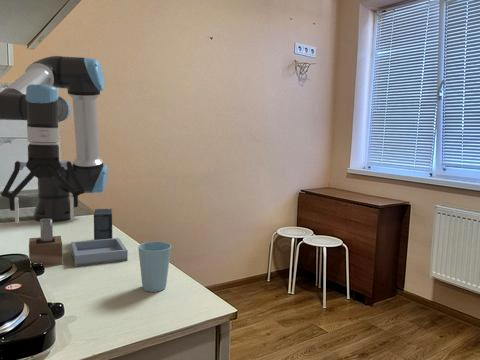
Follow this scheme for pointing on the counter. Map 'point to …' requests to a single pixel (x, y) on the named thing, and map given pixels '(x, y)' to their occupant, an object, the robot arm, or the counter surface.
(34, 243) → the wooden slotted block
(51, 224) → the pin gauge
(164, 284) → the cup
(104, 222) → the box
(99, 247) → the tray
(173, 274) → the counter surface
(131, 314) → the counter surface
